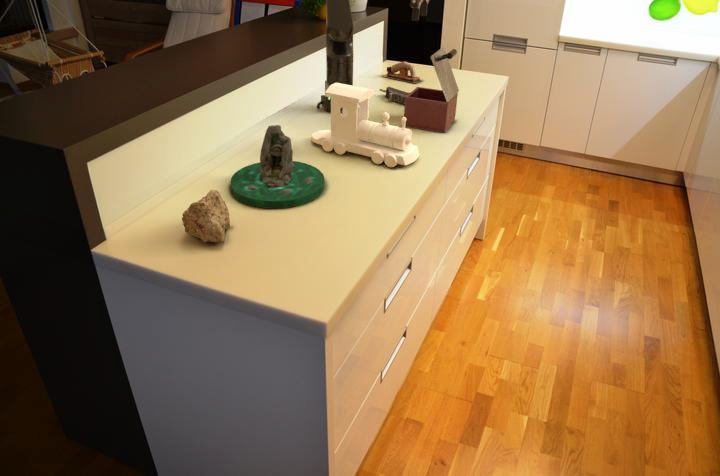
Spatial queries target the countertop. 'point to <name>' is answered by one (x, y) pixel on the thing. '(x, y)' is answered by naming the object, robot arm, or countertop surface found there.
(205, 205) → the rock
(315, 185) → the diorama
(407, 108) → the open wooden cubby
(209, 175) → the countertop surface
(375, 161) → the toy train
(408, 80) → the sculpture
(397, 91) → the toy gun
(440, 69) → the lid
